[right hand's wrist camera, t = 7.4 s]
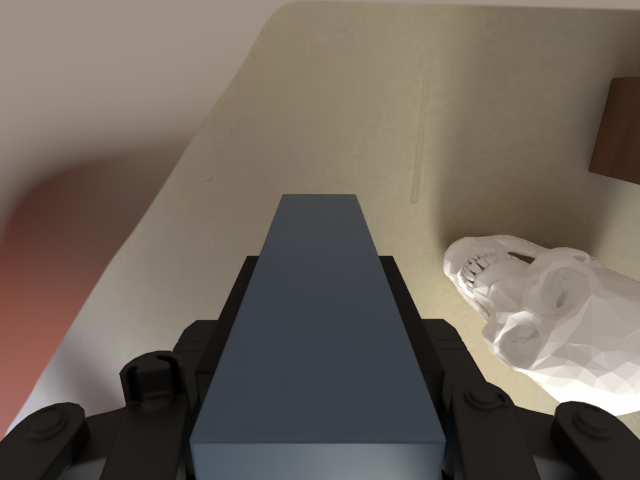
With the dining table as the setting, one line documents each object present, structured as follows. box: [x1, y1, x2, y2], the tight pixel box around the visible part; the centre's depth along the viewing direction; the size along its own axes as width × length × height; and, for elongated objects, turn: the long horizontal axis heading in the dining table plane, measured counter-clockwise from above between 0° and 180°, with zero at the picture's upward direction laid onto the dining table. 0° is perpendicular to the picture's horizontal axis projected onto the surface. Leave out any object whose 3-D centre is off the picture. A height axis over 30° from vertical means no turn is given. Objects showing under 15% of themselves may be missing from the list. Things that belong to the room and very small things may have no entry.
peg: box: [189, 194, 446, 480], centre depth 14 cm, size 4×4×16 cm
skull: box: [442, 235, 640, 415], centre depth 37 cm, size 13×22×16 cm, turn 67°
